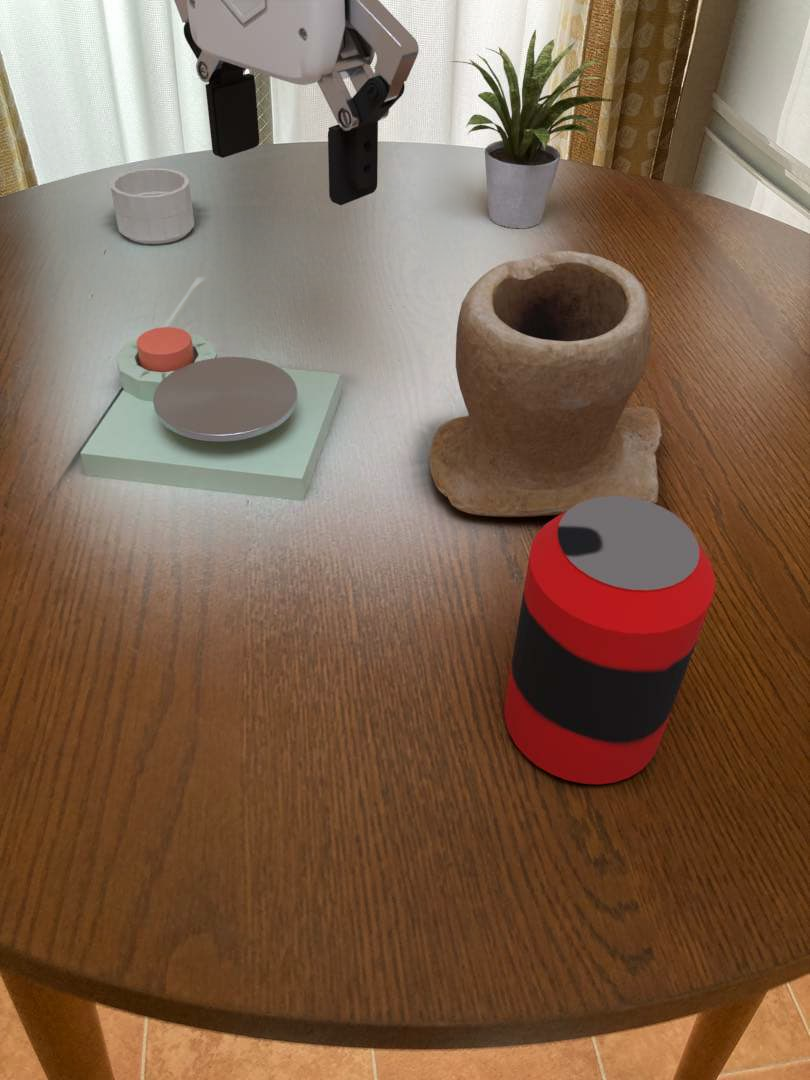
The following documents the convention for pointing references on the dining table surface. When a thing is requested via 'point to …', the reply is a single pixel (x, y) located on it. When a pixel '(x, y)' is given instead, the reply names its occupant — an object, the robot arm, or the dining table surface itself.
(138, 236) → the bowl
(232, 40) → the robot arm
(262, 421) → the plate
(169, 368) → the tare button
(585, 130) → the house plant
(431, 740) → the dining table surface
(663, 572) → the soda can
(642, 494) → the stone cup
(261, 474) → the scale
